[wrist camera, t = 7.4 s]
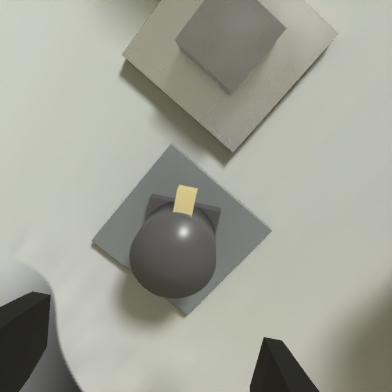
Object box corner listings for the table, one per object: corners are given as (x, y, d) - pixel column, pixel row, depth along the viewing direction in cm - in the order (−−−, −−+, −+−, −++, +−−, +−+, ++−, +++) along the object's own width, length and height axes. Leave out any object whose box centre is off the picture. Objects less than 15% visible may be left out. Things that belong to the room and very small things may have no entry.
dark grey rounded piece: (207, 271, 20) (206, 306, 16) (139, 257, 20) (123, 288, 16) (227, 187, 19) (230, 205, 15) (154, 172, 19) (140, 186, 15)
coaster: (270, 228, 20) (271, 230, 19) (188, 310, 21) (187, 315, 21) (171, 143, 19) (170, 144, 18) (94, 237, 20) (91, 240, 20)
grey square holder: (332, 37, 17) (357, 21, 14) (232, 151, 19) (235, 157, 16) (220, -74, 16) (222, -117, 13) (125, 57, 18) (108, 45, 15)
